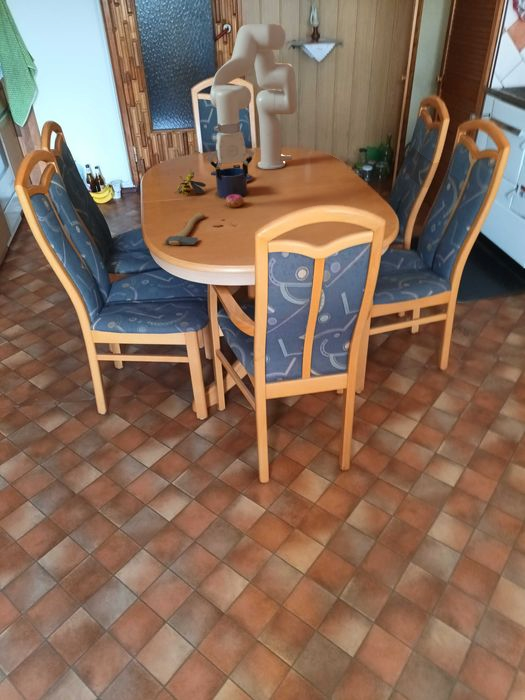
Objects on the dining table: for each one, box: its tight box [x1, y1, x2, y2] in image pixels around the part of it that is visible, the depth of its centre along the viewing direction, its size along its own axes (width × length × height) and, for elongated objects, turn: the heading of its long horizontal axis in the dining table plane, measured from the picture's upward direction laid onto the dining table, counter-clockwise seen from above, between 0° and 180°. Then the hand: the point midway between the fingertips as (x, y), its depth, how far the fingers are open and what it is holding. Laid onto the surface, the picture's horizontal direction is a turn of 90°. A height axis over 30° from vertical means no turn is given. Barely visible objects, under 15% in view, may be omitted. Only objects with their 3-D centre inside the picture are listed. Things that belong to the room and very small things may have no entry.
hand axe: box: [165, 212, 205, 246], centre depth 182 cm, size 27×2×10 cm
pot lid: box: [232, 164, 253, 183], centre depth 225 cm, size 13×13×6 cm
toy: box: [174, 169, 207, 196], centre depth 211 cm, size 12×8×15 cm
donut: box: [224, 194, 245, 209], centre depth 200 cm, size 7×7×4 cm
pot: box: [210, 167, 253, 199], centre depth 210 cm, size 12×17×8 cm
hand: (232, 177), depth 195 cm, fingers open, 9 cm apart
